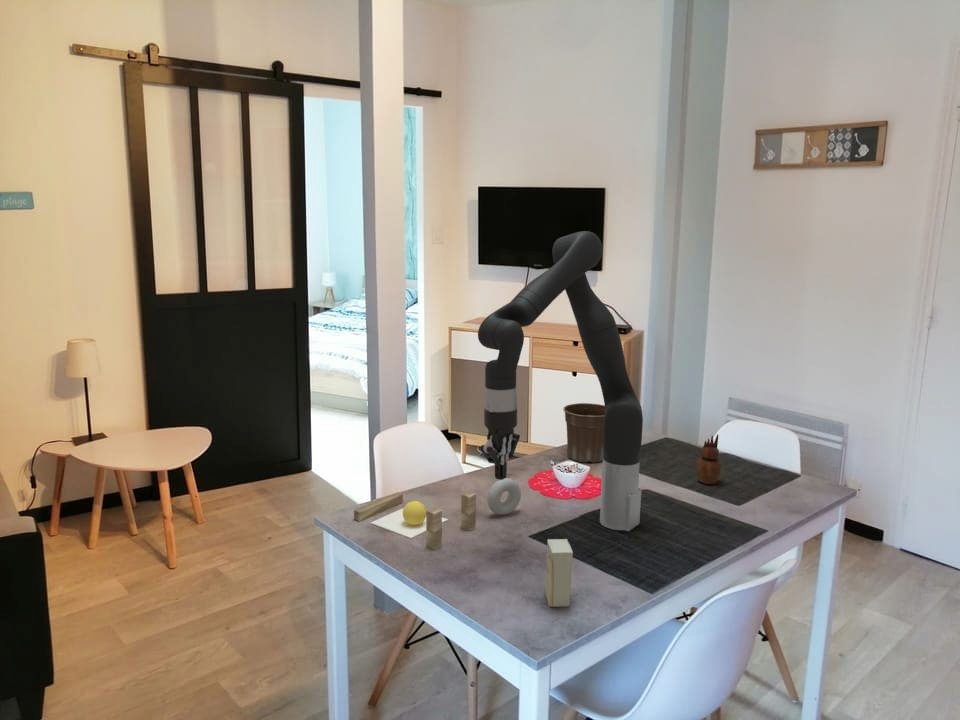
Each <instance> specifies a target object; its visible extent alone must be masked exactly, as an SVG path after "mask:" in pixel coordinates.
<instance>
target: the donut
mask: <svg viewBox="0 0 960 720" xmlns="http://www.w3.org/2000/svg"><path fill="white" fill-rule="evenodd" d="M505 492H507V493H508V495H507V498H506V499H505V500H504V501H501V497H502V495H503V494H504V493H505ZM521 492H522V491H521V487H520V486H519V483H517V481H516V480H515V479H513V478H510V477H509V478H508V477H506V478H505V479H503V480H499V479H497V481H495V482H494V483H493V484H492V486H491V487H490V488H489V491H487V497H486V499H487V506H488V508H489V510H490V511H491V512H492V513H494V514H496V515H498V516H506V515H509V514H511V513H512V512H513V511H514V510H515V509H516V508H517V507H518V505H519V503H520V501H521V497H522V493H521Z"/></svg>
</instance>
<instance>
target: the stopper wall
mask: <svg viewBox="0 0 960 720" xmlns="http://www.w3.org/2000/svg"><path fill="white" fill-rule="evenodd" d="M403 496H404V495H403V493H402V492H395V493H392V494H389V495H387V496H385V497H382V498H380V499H378V500H376V501H373V502H370V503H368V504H365V505H364V506H361V507H358V508H357V509H354V510H353V520H354V521H358V522H359V523H360V522H361V521H364V520H367V519H369V518H371V517H373V516H375V515H377V514H378V515H379V514H380V513H382V512H384V511H386V510H390V509H392V508H394V507H396V506H399V505H401V504H404V497H403Z"/></svg>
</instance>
